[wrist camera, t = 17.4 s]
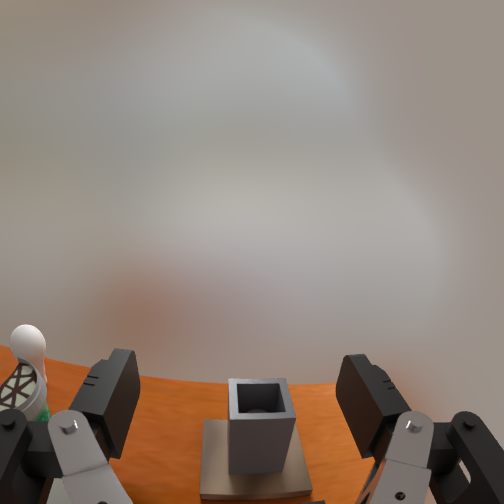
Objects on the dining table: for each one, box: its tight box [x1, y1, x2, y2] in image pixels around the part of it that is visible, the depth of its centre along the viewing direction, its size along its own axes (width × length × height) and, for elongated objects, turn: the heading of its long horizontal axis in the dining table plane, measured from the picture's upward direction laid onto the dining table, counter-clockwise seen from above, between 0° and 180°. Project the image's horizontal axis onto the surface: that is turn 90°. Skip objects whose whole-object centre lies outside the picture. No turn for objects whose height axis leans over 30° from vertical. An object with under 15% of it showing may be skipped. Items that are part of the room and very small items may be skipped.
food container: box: [0, 357, 52, 421], centre depth 25 cm, size 12×6×10 cm, turn 9°
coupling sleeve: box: [227, 378, 296, 474], centre depth 29 cm, size 6×6×10 cm
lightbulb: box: [10, 325, 47, 384], centre depth 35 cm, size 6×6×11 cm
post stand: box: [200, 409, 313, 500], centre depth 29 cm, size 12×12×8 cm
